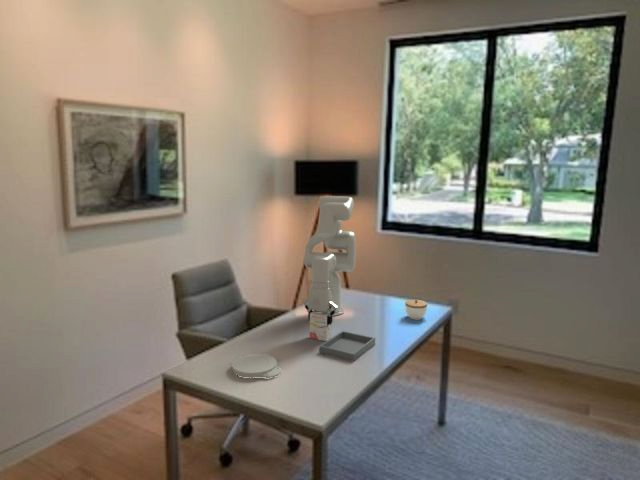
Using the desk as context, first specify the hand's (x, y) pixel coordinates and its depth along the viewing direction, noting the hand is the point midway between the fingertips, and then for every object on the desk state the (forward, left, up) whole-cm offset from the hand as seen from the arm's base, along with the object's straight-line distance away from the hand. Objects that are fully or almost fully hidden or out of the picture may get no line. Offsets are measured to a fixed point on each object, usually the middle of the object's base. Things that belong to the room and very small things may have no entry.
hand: (320, 322), depth 214 cm
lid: (-4, -40, -8) cm, 41 cm away
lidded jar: (+27, +48, -8) cm, 56 cm away
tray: (+16, -4, -7) cm, 18 cm away
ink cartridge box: (0, 0, -8) cm, 8 cm away
